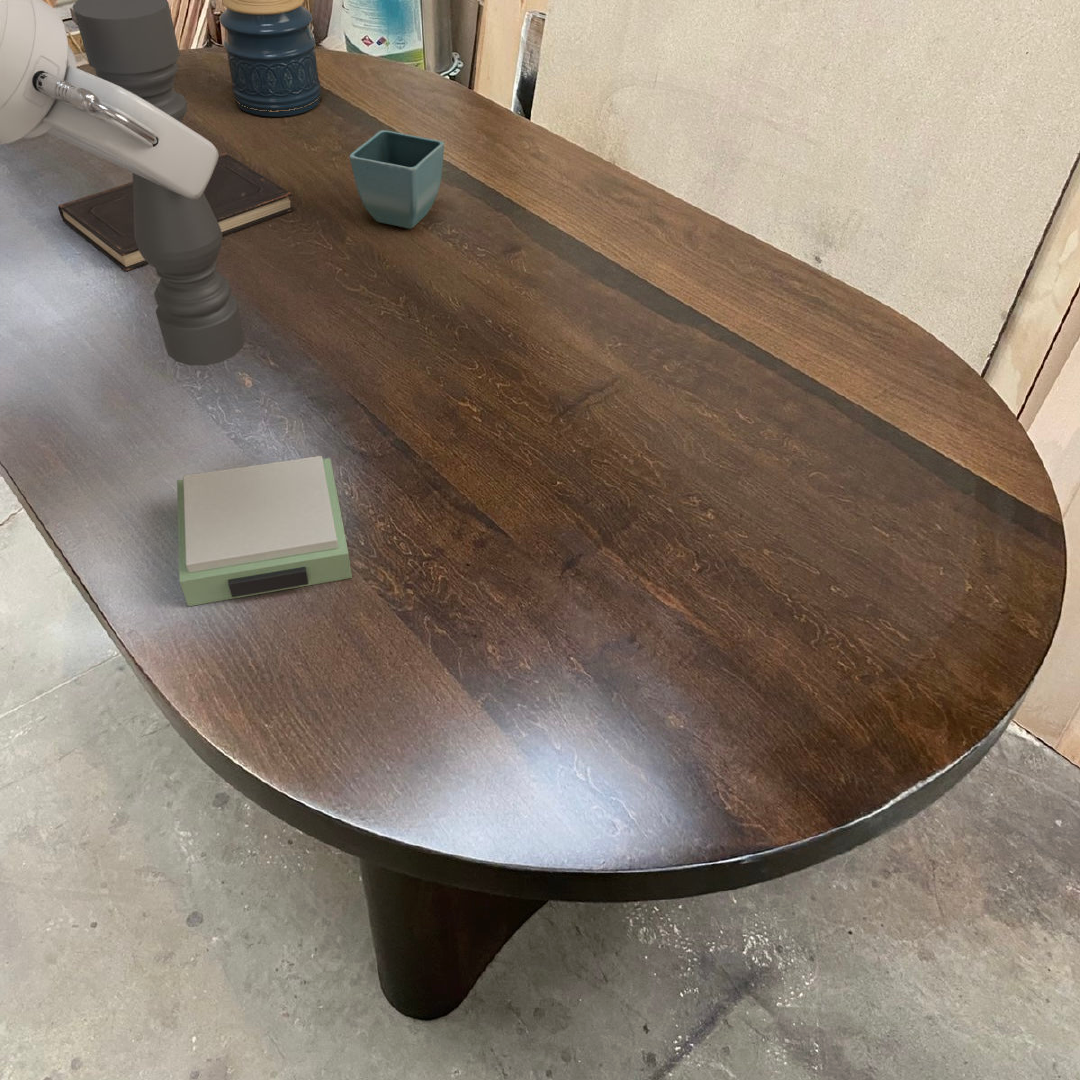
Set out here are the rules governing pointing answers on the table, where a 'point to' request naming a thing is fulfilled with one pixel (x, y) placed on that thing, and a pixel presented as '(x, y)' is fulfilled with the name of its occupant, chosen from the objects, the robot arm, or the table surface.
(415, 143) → the flower pot
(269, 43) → the canister
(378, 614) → the table surface
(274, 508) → the scale
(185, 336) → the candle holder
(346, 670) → the table surface
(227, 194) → the hardcover book
